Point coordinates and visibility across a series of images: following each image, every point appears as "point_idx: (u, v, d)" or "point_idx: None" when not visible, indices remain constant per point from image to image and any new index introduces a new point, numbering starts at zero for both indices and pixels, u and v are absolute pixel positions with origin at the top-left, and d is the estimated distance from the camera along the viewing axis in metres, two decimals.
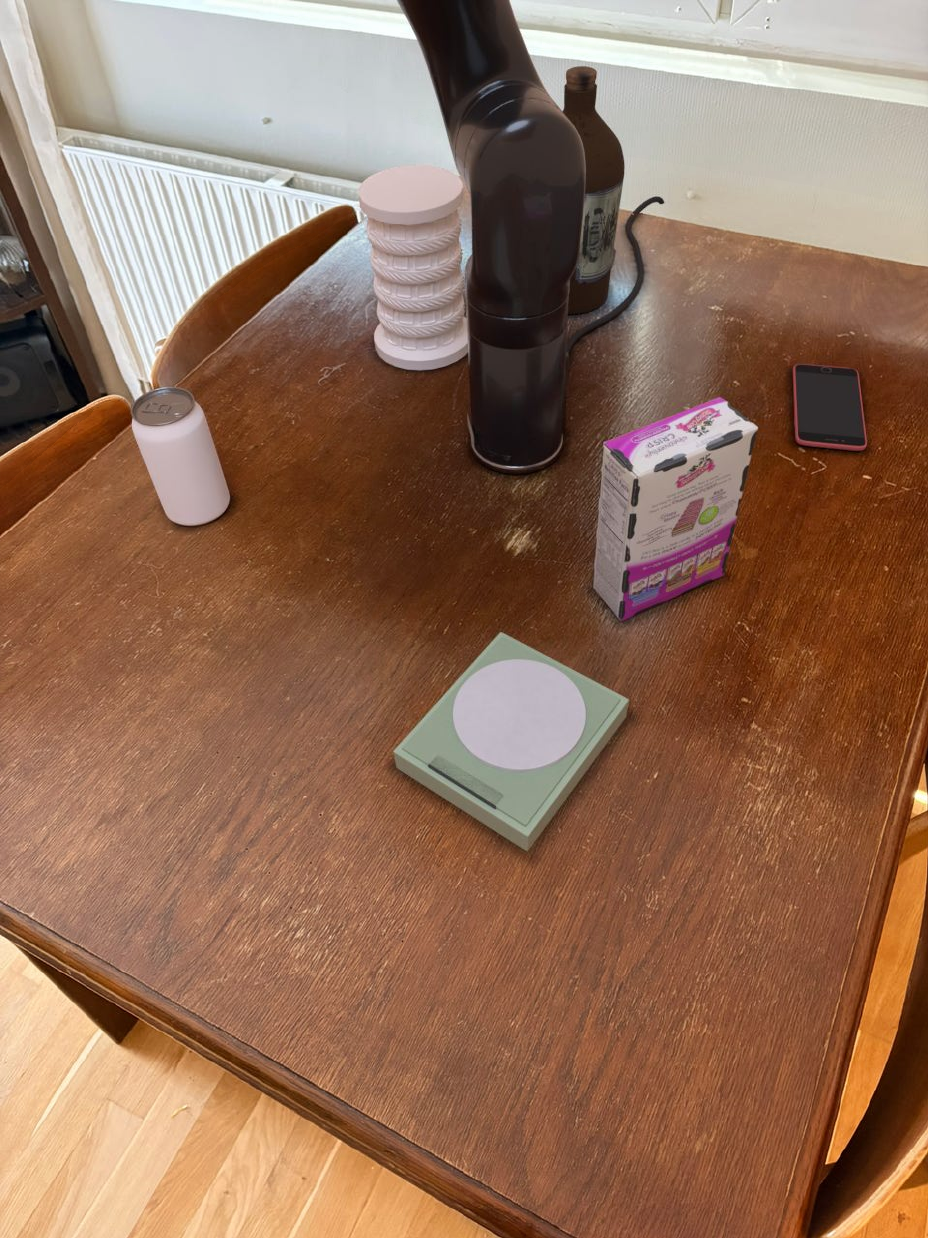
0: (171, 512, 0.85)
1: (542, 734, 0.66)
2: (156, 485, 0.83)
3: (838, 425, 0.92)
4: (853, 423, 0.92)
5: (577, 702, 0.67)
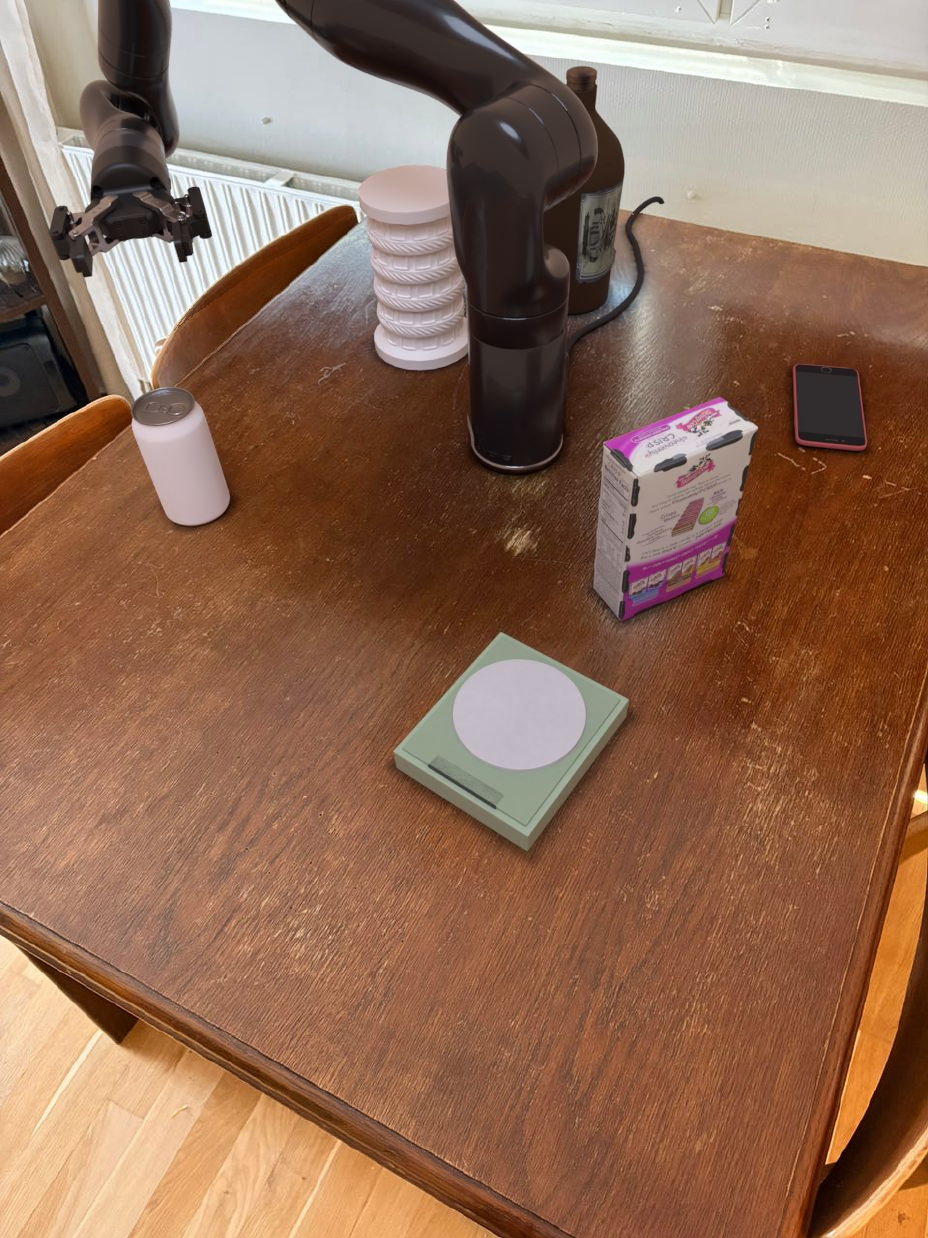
0: (171, 512, 0.85)
1: (542, 734, 0.66)
2: (156, 485, 0.83)
3: (838, 425, 0.92)
4: (853, 423, 0.92)
5: (577, 702, 0.67)
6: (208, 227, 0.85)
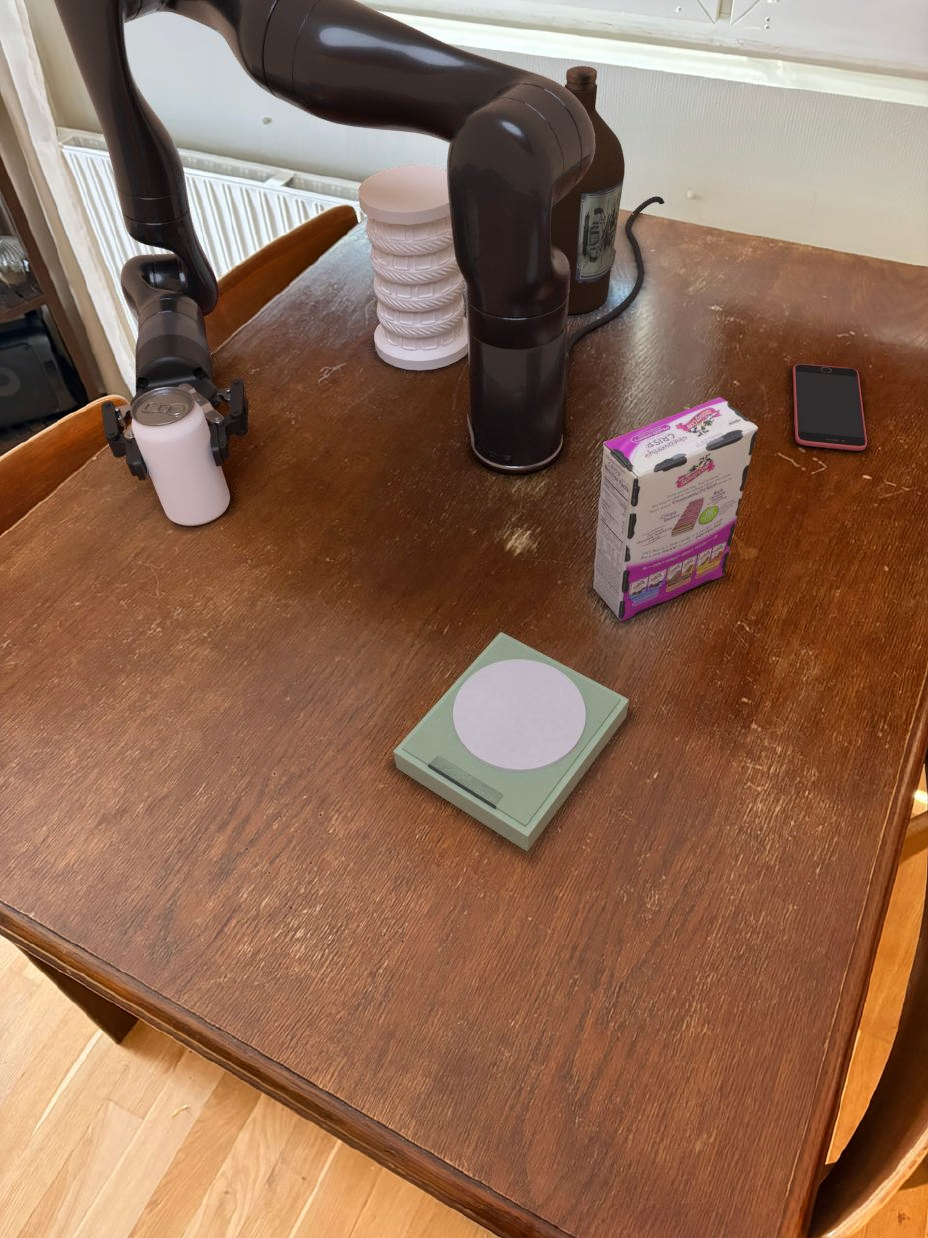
0: (171, 512, 0.85)
1: (542, 734, 0.66)
2: (156, 485, 0.83)
3: (838, 425, 0.92)
4: (853, 423, 0.92)
5: (577, 702, 0.67)
6: (243, 426, 0.86)
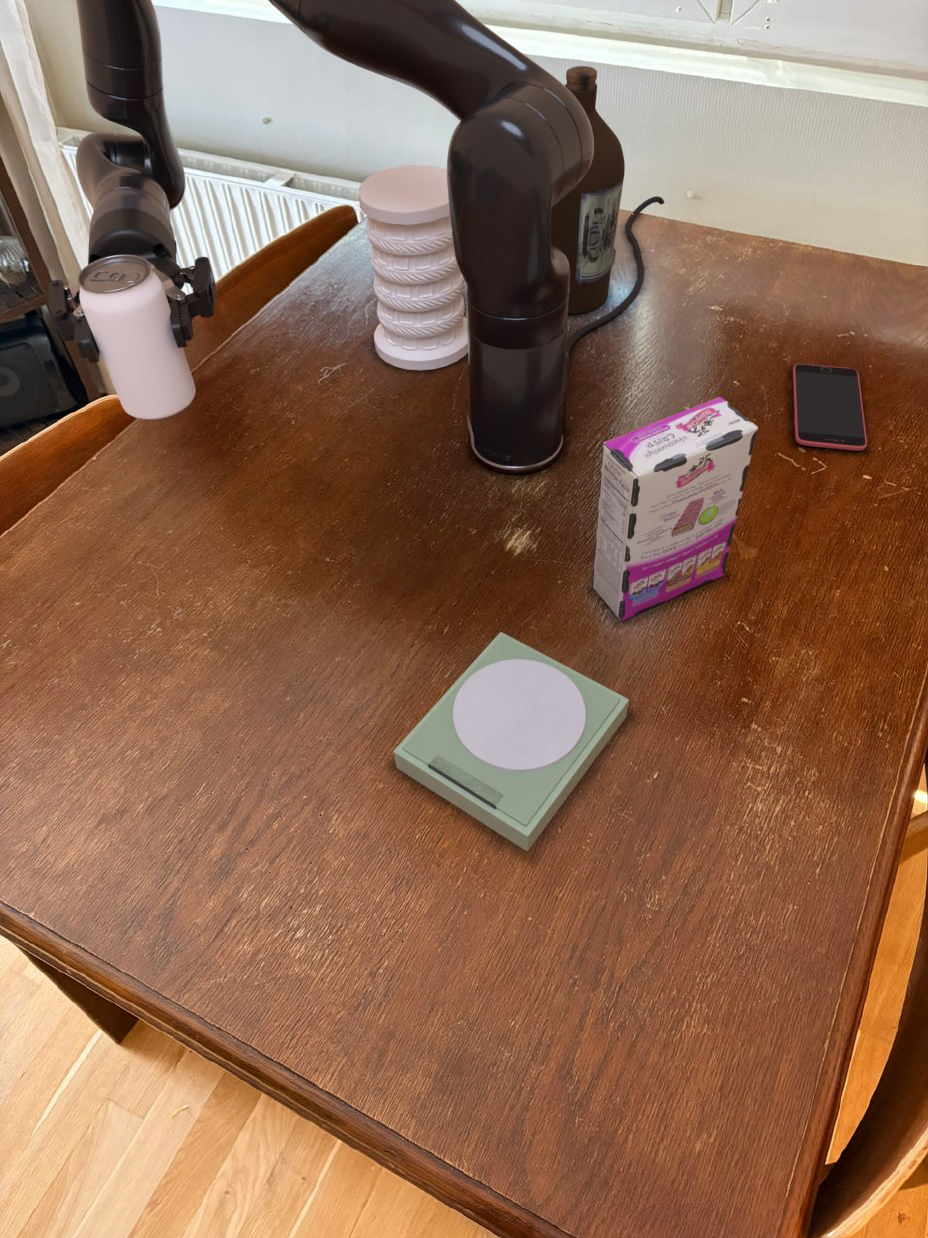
0: (128, 403, 0.76)
1: (542, 734, 0.66)
2: (110, 370, 0.74)
3: (838, 425, 0.92)
4: (853, 423, 0.92)
5: (577, 702, 0.67)
6: (209, 306, 0.76)
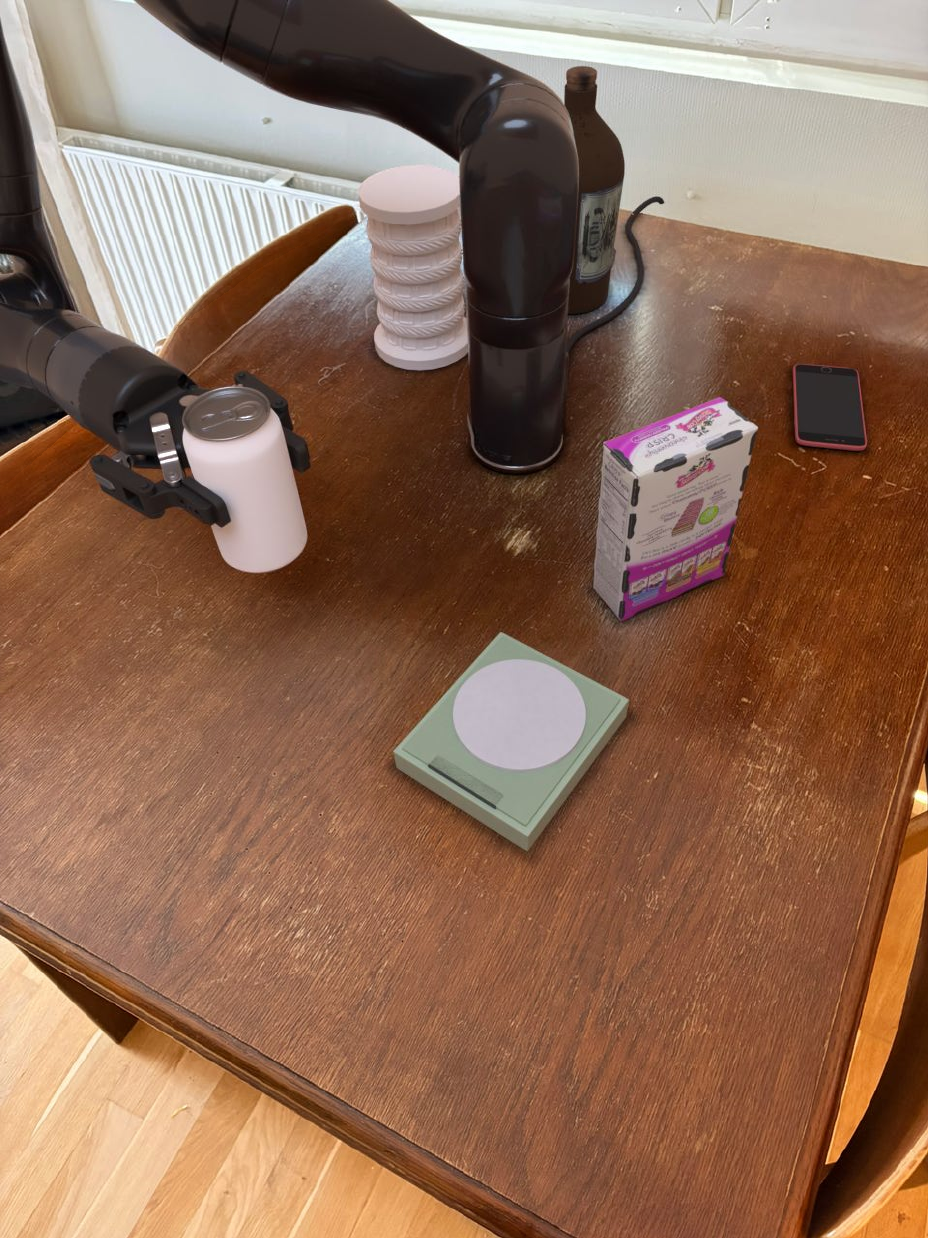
0: (257, 559, 0.63)
1: (542, 734, 0.66)
2: (236, 528, 0.61)
3: (838, 425, 0.92)
4: (853, 423, 0.92)
5: (577, 702, 0.67)
6: (290, 419, 0.65)
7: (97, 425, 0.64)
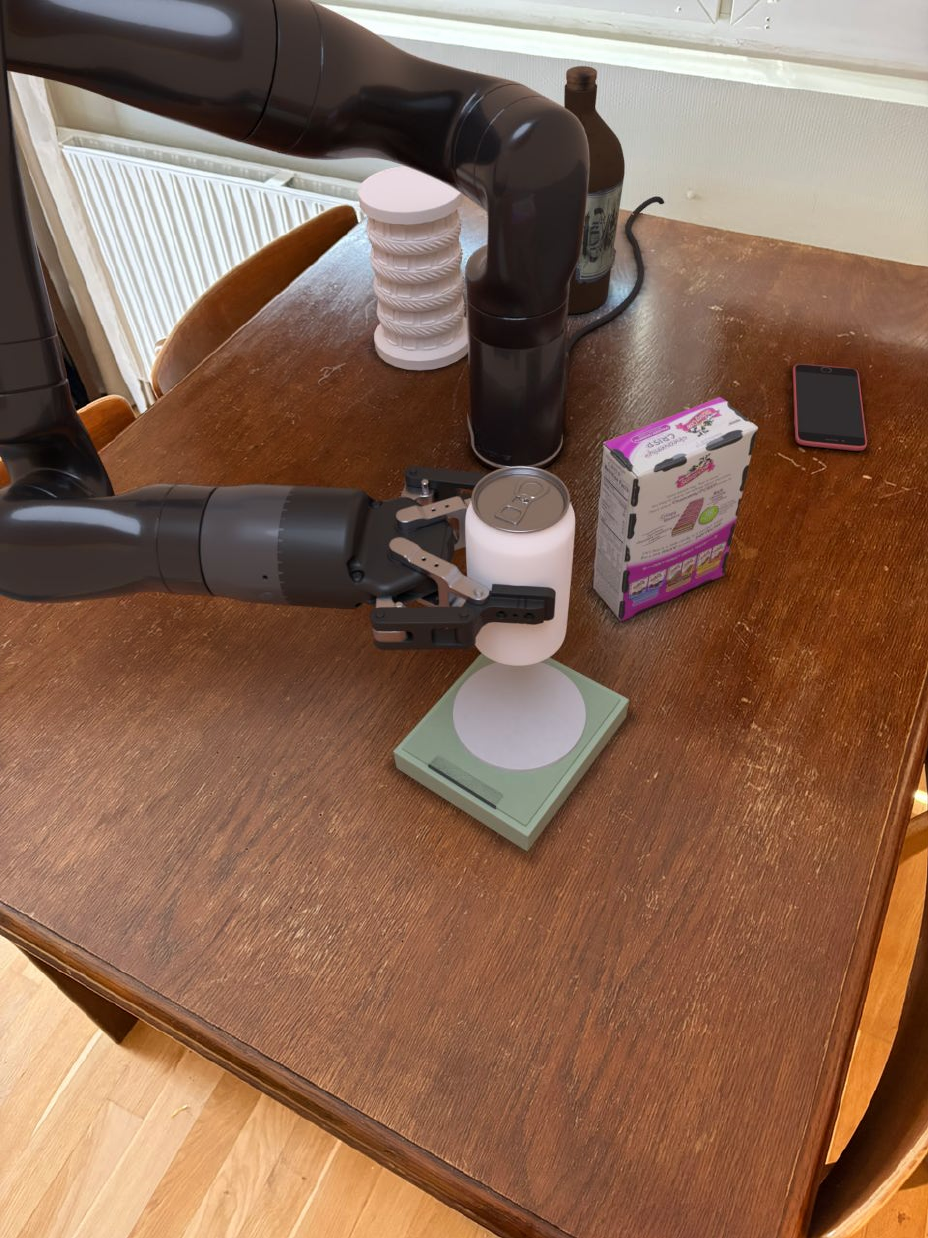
0: (552, 643, 0.57)
1: (542, 734, 0.66)
2: None
3: (838, 425, 0.92)
4: (853, 423, 0.92)
5: (577, 702, 0.67)
6: None
7: (316, 586, 0.53)
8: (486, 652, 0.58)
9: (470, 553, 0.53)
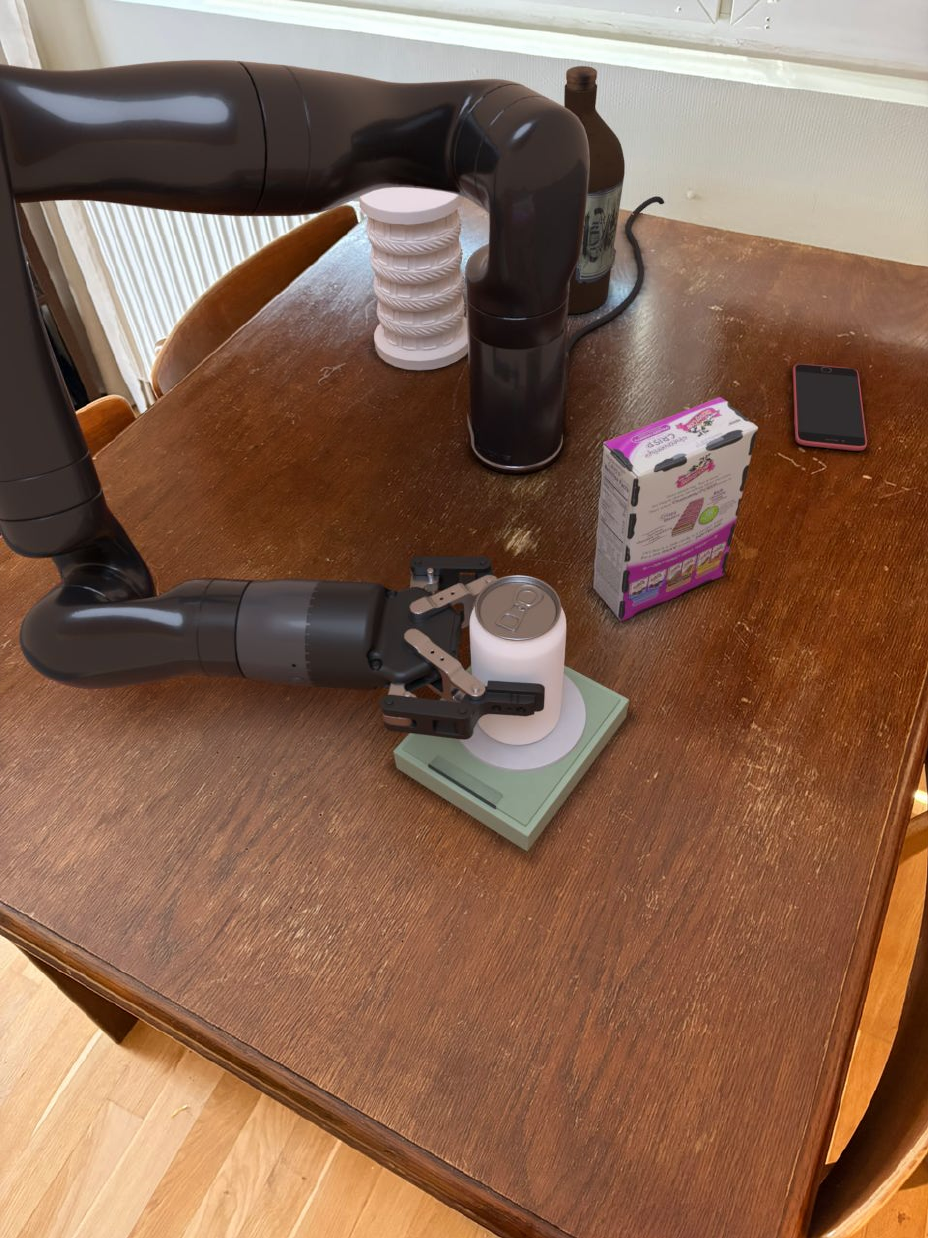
0: (547, 725, 0.64)
1: None
2: None
3: (838, 425, 0.92)
4: (853, 423, 0.92)
5: (577, 702, 0.67)
6: None
7: (339, 673, 0.60)
8: (489, 733, 0.65)
9: (474, 653, 0.60)
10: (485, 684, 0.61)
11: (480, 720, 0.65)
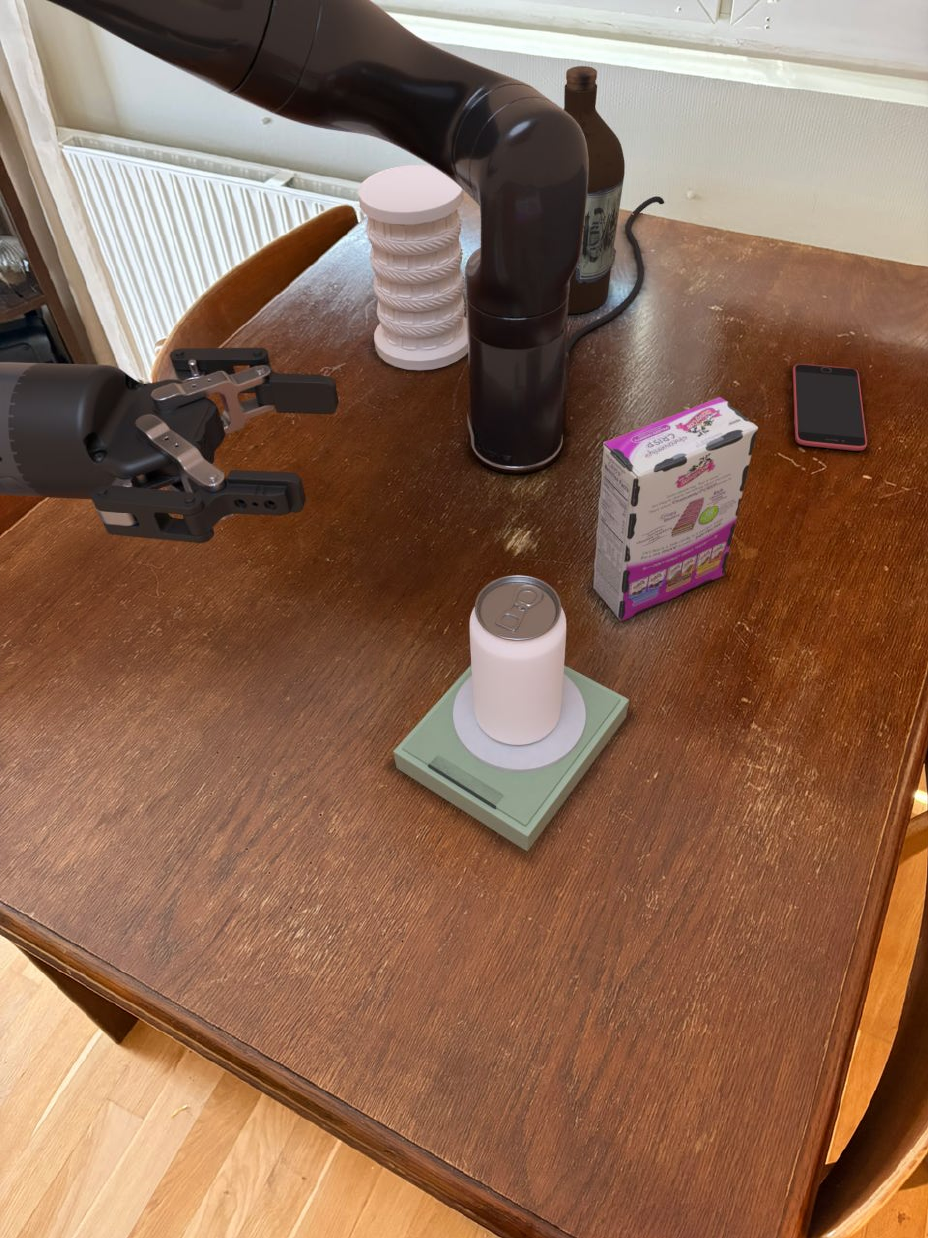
0: (547, 725, 0.64)
1: None
2: (540, 706, 0.62)
3: (838, 425, 0.92)
4: (853, 423, 0.92)
5: (577, 702, 0.67)
6: None
7: (56, 468, 0.48)
8: (489, 733, 0.65)
9: (474, 653, 0.60)
10: (485, 684, 0.61)
11: (480, 720, 0.65)
